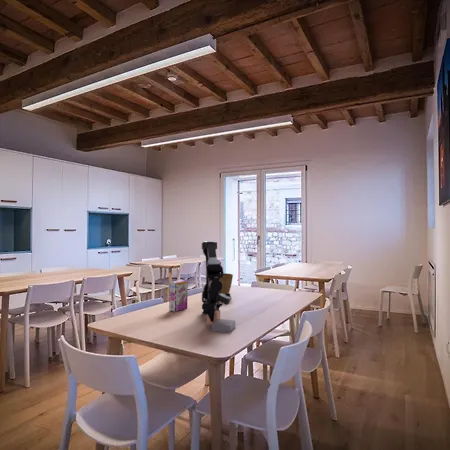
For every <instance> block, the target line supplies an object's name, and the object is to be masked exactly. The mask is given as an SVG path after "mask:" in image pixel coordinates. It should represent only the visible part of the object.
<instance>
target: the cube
mask: <svg viewBox="0 0 450 450" xmlns="http://www.w3.org/2000/svg"><path fill="white" fill-rule="evenodd" d="M206 314H207V313H206ZM206 316H207V321H206V322H207V323H206V324H207V325H209V326H211V324H212V323H213V322H214V321H216V320H217V319H221V310H220V309H219V310H216V311H215V314H214V321H213V322H211V320H210V318H209V316H208V314H207V315H206Z"/></svg>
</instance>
